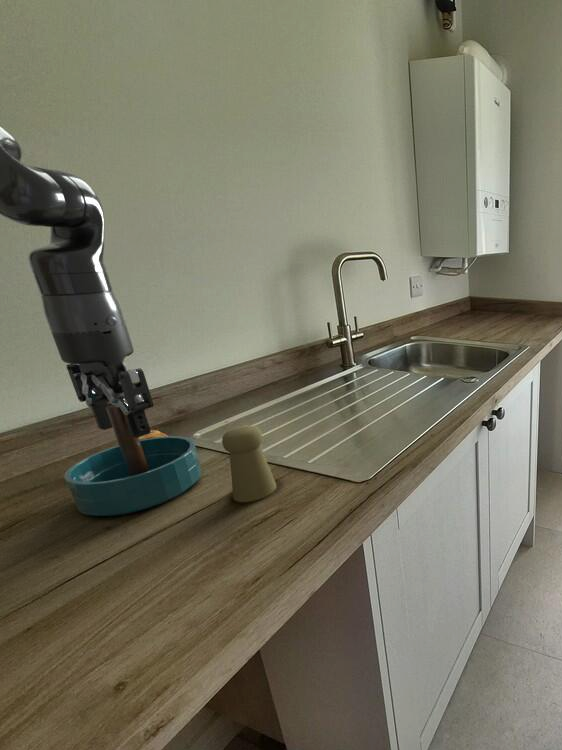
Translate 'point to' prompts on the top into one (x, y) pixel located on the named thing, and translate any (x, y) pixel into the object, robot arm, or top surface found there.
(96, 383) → the robot arm
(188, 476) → the bowl
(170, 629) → the top surface
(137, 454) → the stirring stick
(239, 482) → the cork
